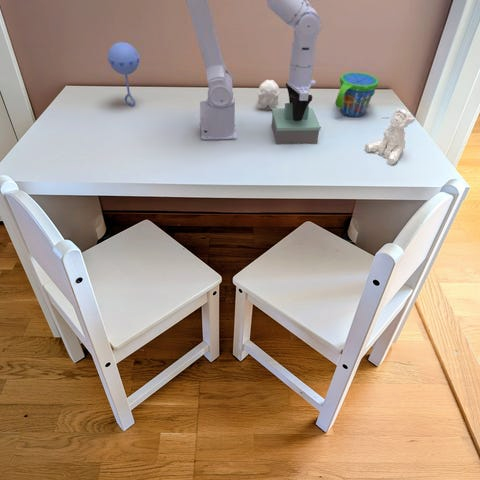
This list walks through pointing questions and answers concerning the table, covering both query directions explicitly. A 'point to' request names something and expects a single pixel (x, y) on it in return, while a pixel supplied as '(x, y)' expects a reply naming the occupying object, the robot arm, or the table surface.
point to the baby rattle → (124, 62)
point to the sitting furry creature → (392, 137)
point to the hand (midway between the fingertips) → (295, 115)
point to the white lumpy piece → (268, 94)
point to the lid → (286, 122)
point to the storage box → (295, 136)
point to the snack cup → (355, 93)
